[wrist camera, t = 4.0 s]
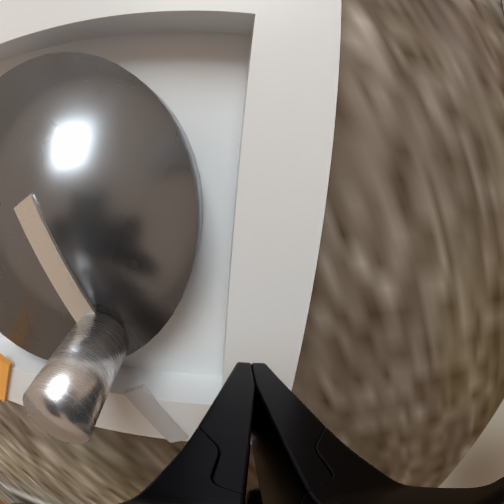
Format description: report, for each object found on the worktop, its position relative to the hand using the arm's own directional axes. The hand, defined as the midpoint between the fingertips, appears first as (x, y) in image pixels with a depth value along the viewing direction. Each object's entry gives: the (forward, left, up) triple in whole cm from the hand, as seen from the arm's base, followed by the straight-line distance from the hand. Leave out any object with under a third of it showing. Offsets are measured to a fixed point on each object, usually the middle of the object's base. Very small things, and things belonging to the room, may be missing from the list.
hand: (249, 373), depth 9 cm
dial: (+7, -4, -3) cm, 9 cm away
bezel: (+7, -4, -4) cm, 9 cm away
